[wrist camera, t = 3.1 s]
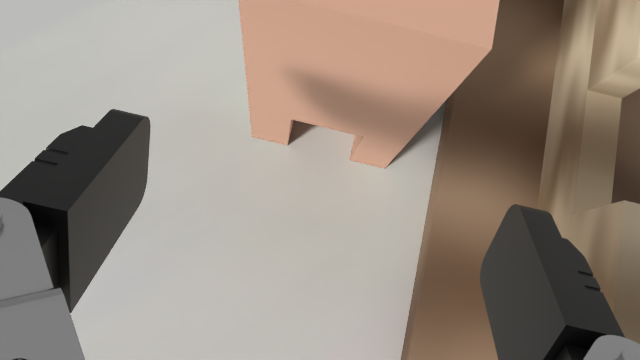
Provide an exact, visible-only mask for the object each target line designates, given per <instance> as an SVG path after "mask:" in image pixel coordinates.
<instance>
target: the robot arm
mask: <svg viewBox="0 0 640 360" xmlns="http://www.w3.org/2000/svg"><path fill="white" fill-rule="evenodd" d="M149 141H150V120H149V118H148V117H145V116H141V115H137V114H133V113H128V112H124V111H120V110H116V109H112V110H110V111H109V112H108V113H107V114H106V115H105V116H104V117H103V118H102V119H101V120H100V121H99V122H98V123H97V124H96V125H95V127H94V128H91V127H87V126H83V125H82V126H79V127H77V128H75V129H72V130H70V131H67V132H65V133H63V134H60V135H59V136H58V137H57V138H56V139H55V140H54V141H53V142H52V143H51V144H50V145H49V146H48V147H46V151H45V150H43V151H42V152H41V153H40V154H39V155H38V156H37V157H36V158H35V161H34V162H33V161H32V162H31V163H30V164H29V165H28V166H26V167H25V168H24V169H23V170H22V171H21V172H20V173H19V174H18V175H17V176H16V177H15V178H14V179H13V180H12V181H11V182H10V183H9V184H7V185H6V186H5V187H4V188H3V189H2V190H1V191H0V360H85V358H84V355H83V352H82V349H81V346H80V343H79V340H78V337H77V334H76V330H75V327H74V324H73V321H72V318H71V315H70V313H71V312H72V310H73V309H74V307H75V306H76V304H77V303H78V301H79V299H80V298H81V296H82V295H83V293H84V292H85V290H86V288H87V287H88V285H89V284H90V282H91V281H92V279H93V277H94V276H95V274H96V273H97V271H98V270H99V268H100V266H101V265H102V263H103V262H104V260H105V259H106V257H107V255H108V254H109V252H110V251H111V249H112V248H113V246H114V244H115V243H116V241H117V240H118V238H119V237H120V235H121V233H122V232H123V230H124V229H125V227H126V226H127V224H128V222H129V221H130V219H131V218H132V216H133V215H134V213H135V211H136V210H137V208H138V207H139V205H140V203H141V201H142V198H143V195H144V192H145V188H146V183H147V174H148V157H149ZM480 284H481V289H482V293H483V297H484V302H485V306H486V310H487V314H488V318H489V323H490V327H491V331H492V335H493V339H494V344H495V348H496V352H497V356H498V360H640V344H638V343H636V342H634V341H632V340H630V339H627V338H625V336H624V334H623V332H622V330H621V328H620V326H619V324H618V322H617V320H616V318H615V316H614V314H613V312H612V310H611V308H610V306H609V304H608V302H607V300H606V298H605V296H604V294H603V293H602V292H600V289H601V288H600V286H599V284H598V282H597V280H596V278H594V277H593V272H592V270H591V268H590V266H589V264H588V262H587V260H586V258H585V256H584V255H583V254H582V253H581V252H580V251H579V250H578V249H577V248H576V247H575V246H574V245H573V244H572V243H571V242H570V241H569V240H568V239H565V238H562V236H561V234H560V232H559V230H558V228H557V226H556V223H555V221H554V219H553V217H552V215H551V214H550V213H549V212H547V211H543V210H539V209H535V208H530V207H526V206H522V205H518V204H514V205H512V206H511V207H510V208H509V209H508V211H507V212H506V214H505V216H504V218H503V220H502V222H501V224H500V226H499V228H498V230H497V232H496V234H495V236H494V238H493V240H492V242H491V244H490V246H489V248H488V250H487V252H486V254H485V257H484V259H483V262H482V266H481V271H480Z"/></svg>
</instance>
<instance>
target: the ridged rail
mask: <svg viewBox="0 0 640 360" xmlns="http://www.w3.org/2000/svg"><path fill="white" fill-rule="evenodd" d="M514 204H518V205H522V206H526V207H530V208H535V209H539V210H543V211H547V212H549V213H550V214H551V215H552V217H553V219H554V221H555V223H556V226H557V228H558V230H559V232H560V234H561V236H562V238H565V239H568V240H569V241H570V242H571V243H572V244H573V245H574V246H575V247H576V248H577V249H578V250H579V251H580V252H581V253H582V254H583V255H584V256H585V258H586V260H587V262H588V264H589V266H590V268H591V270H592V272H593V277H594V278H596V280H597V282H598V284H599V286H600V288H601V289H600V292H602V293H603V294H604V296H605V298H606V300H607V302H608V304H609V306H610V308H611V310H612V312H613V314H614V316H615V318H616V320H617V322H618V324H619V326H620V328H621V330H622V332H623V334H624V336H625V338H627V339H630V340H632V341H634V342H636V343H638V344H640V0H500V1H499V7H498V13H497V20H496V26H495V32H494V38H493V44H492V49H491V50H490V52H489V53H488V54H487V55H486V56H485V57H484V58H483V59H482V60H481V62H480V63H479V64H478V65H477V66H476V67H475V68H474V69H473V70H472V72H471V73H470V74H469V75H468V76H467V77H466V78H465V79H464V81H463V82H462V83H461V84H460V85H459V86H458V87H457V88H456V89H455V91H454V92H453V93H452V94H451V95H450V96H449V97H448V98H447V103H446V108H445V114H444V120H443V125H442V131H441V137H440V142H439V148H438V154H437V159H436V165H435V170H434V176H433V182H432V187H431V193H430V199H429V204H428V210H427V216H426V221H425V227H424V233H423V238H422V244H421V249H420V255H419V261H418V266H417V272H416V278H415V283H414V289H413V295H412V300H411V306H410V311H409V317H408V323H407V328H406V334H405V340H404V345H403V351H402V357H401V360H498V356H497V352H496V348H495V344H494V339H493V335H492V331H491V327H490V323H489V318H488V314H487V310H486V306H485V302H484V297H483V293H482V289H481V284H480V271H481V266H482V262H483V259H484V257H485V254H486V252H487V250H488V248H489V246H490V244H491V242H492V240H493V238H494V236H495V234H496V232H497V230H498V228H499V226H500V224H501V222H502V220H503V218H504V216H505V214H506V212H507V211H508V209H509V208H510V207H511V206H512V205H514Z"/></svg>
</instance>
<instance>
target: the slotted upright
mask: <svg viewBox="0 0 640 360" xmlns="http://www.w3.org/2000/svg"><path fill="white" fill-rule="evenodd" d="M499 1H500V0H239V9H240V19H241V29H242V39H243V50H244V60H245V70H246V80H247V90H248V101H249V111H250V121H251V131H252V137H255V138H259V139H263V140H268V141H272V142H276V143H280V144H284V145H288V142H289V138H290V134H291V130H292V126H293V122H294V120H296V121H300V122H304V123H308V124H313V125H317V126H321V127H325V128H329V129H333V130H338V131H342V132H346V133H350V134H354V135H355V138H354V142H353V147H352V152H351V156H350V160H352V161H356V162H360V163H364V164H369V165H373V166H377V167H381V168H386V167H387V165H388V164H389V163H390V162H391V161H392V160H393V159H394V158H395V157H396V155H397V154H398V153H399V152H400V151H401V150H402V149H403V148H404V146H405V145H406V144H407V143H408V142H409V141H410V140H411V139H412V138H413V136H414V135H415V134H416V133H417V132H418V131H419V130H420V129H421V127H422V126H423V125H424V124H425V123H426V122H427V121H428V120H429V119H430V117H431V116H432V115H433V114H434V113H435V112H436V111H437V110H438V108H439V107H440V106H441V105H442V104H443V103H444V102H445V101H446V100H447V98H448V97H449V96H450V95H451V94H452V93H453V92H454V91H455V89H456V88H457V87H458V86H459V85H460V84H461V83H462V82H463V81H464V79H465V78H466V77H467V76H468V75H469V74H470V73H471V72H472V70H473V69H474V68H475V67H476V66H477V65H478V64H479V63H480V62H481V60H482V59H483V58H484V57H485V56H486V55H487V54H488V53H489V52H490V50H491V49H492V44H493V38H494V32H495V26H496V20H497V13H498V7H499Z"/></svg>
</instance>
